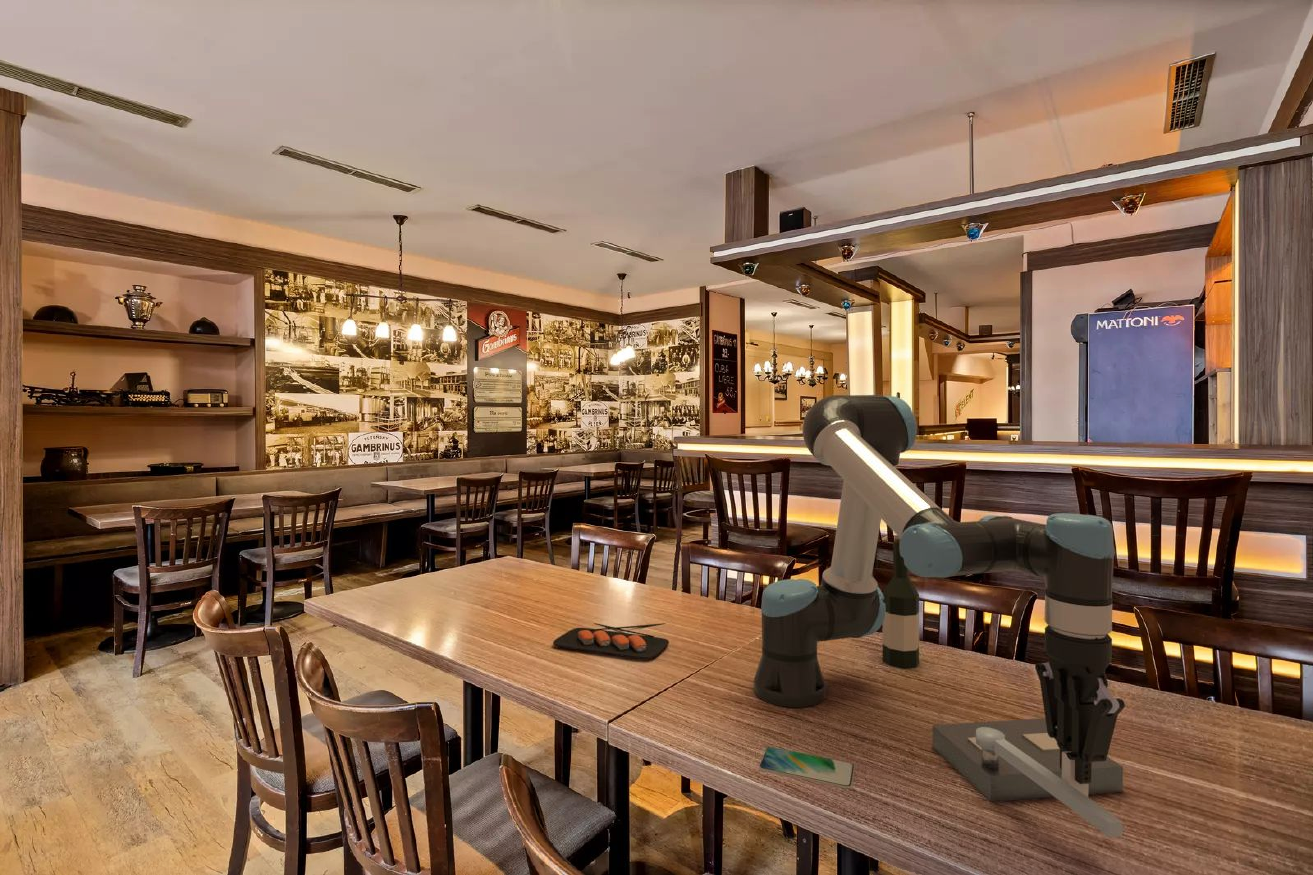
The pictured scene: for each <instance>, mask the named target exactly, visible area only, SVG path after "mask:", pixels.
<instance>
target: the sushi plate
mask: <svg viewBox="0 0 1313 875" xmlns="http://www.w3.org/2000/svg"><path fill="white" fill-rule="evenodd" d="M593 624H594V625H597V626H600V627H603V628H589V627H576V628H575V627H574V628H572V629H570V630H568V631H567V632H565V633H563V634H561V635H559V637H557V638H556V639H554V640H553V642H552V644H553V645H554V646H556V647H560V648H564V649H565V648H566V649H572V650H578V651H585V652H586V651H587V652H594V653H599V654H606V655H613V656H618V657H619V656H620V657H626V658H627V657H628V658H633V659H643V660H645V659H647V660H648V659H649V660H650V659H652V658H654V657H655V658H656V656H658V655H659V654H660V653H661V652H662V651H664V650H665V648H666V647H668V646H669V643H670V640H669V639H667V638H663V637H657V636H654V635H652V634H648V633H643V632H637V631H632V630H628V629H636V628H650V627H655V626H656V627H657V626H661V625H666V624H667V623H666V622H665V623H652V624H641V625H640V624H638V625H631V626H617V627H616V626H615V627H614V626H610V625H605V624H602V623H601V624H600V623H598V622H597V623H595V622H593ZM613 630H614V631H613ZM618 631H619V632H618Z"/></svg>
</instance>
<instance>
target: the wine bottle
mask: <svg viewBox="0 0 1313 875" xmlns="http://www.w3.org/2000/svg"><path fill="white" fill-rule="evenodd" d="M899 546H900V538H899V537H895V538H894V541H893V542H892V557H893V558H892V568H893V569H892V578H891V579H890V581H889V582H888V584H887V585H886V587H885V588H884V590H883V592H882V594H883V596H884V600H883V603H885V606H886V612H885V618H884V621H883V623H882V662H883V663H885V664H887V665H888V666H889V667H893V668H899V669H903V670H905V669H916V668H918V666H919V664H920V593H919V591H917V589H916V588H915V586H914V584H913V582H912V581H911V579H910V577H909V570H908V569H907V567H906V566H905V564H904V559H903V557H901V555H900V547H899Z"/></svg>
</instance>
